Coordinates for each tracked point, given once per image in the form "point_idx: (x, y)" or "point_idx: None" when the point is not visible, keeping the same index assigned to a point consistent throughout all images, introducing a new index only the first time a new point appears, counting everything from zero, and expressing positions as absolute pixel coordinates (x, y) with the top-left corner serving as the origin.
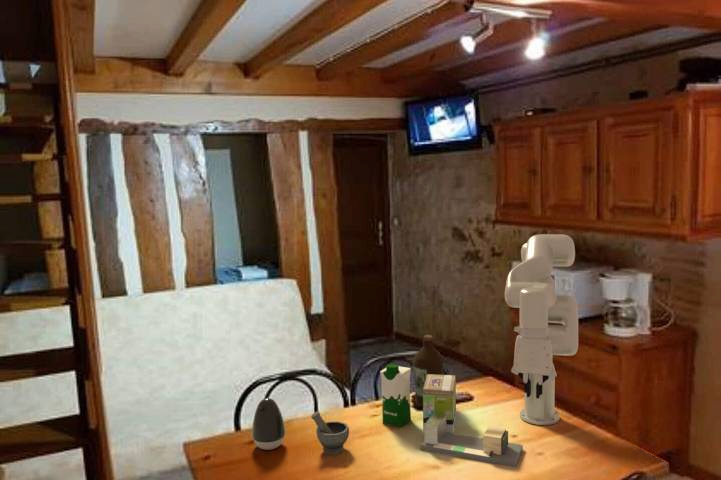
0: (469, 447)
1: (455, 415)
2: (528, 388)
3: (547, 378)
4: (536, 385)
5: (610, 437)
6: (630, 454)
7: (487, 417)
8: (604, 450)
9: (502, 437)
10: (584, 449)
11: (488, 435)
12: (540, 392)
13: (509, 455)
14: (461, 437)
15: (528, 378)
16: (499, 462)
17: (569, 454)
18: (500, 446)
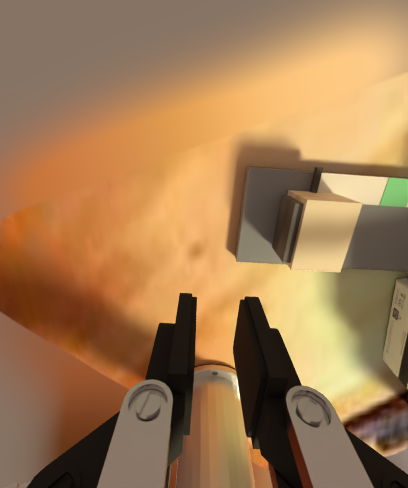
0: (368, 210)
1: (389, 353)
2: (259, 340)
3: (40, 481)
4: (190, 371)
5: (71, 353)
6: (19, 299)
7: (313, 369)
8: (70, 301)
9: (299, 217)
10: (108, 294)
11: (345, 207)
12: (165, 332)
13: (265, 198)
14: (385, 257)
15: (278, 459)
16: (287, 169)
17: (134, 264)
18: (297, 194)
